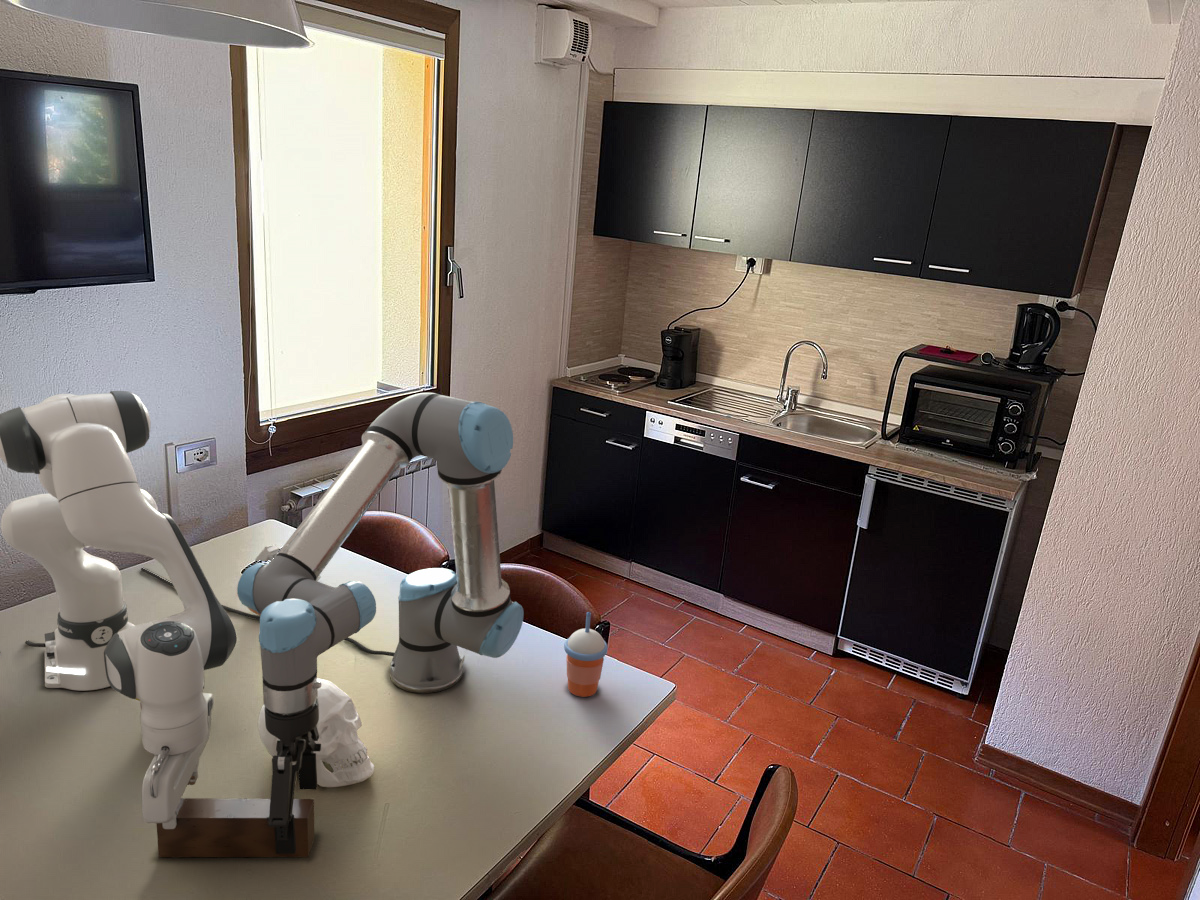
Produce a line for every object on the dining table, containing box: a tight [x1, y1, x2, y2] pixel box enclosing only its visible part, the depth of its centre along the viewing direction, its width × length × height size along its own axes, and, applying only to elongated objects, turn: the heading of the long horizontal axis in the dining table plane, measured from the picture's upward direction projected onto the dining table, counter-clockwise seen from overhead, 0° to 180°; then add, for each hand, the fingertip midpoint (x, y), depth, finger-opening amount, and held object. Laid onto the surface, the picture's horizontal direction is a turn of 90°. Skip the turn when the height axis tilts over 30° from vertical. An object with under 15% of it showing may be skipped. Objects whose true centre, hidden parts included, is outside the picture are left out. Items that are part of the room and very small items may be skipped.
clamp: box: [254, 544, 322, 582], centre depth 219 cm, size 20×4×7 cm, turn 62°
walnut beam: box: [155, 797, 316, 858], centre depth 132 cm, size 22×4×7 cm, turn 95°
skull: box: [257, 677, 375, 788], centre depth 150 cm, size 13×22×16 cm, turn 73°
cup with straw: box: [563, 611, 609, 698], centre depth 179 cm, size 9×9×18 cm
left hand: (181, 803), depth 132 cm, fingers open, 8 cm apart
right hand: (297, 818), depth 133 cm, fingers open, 13 cm apart
